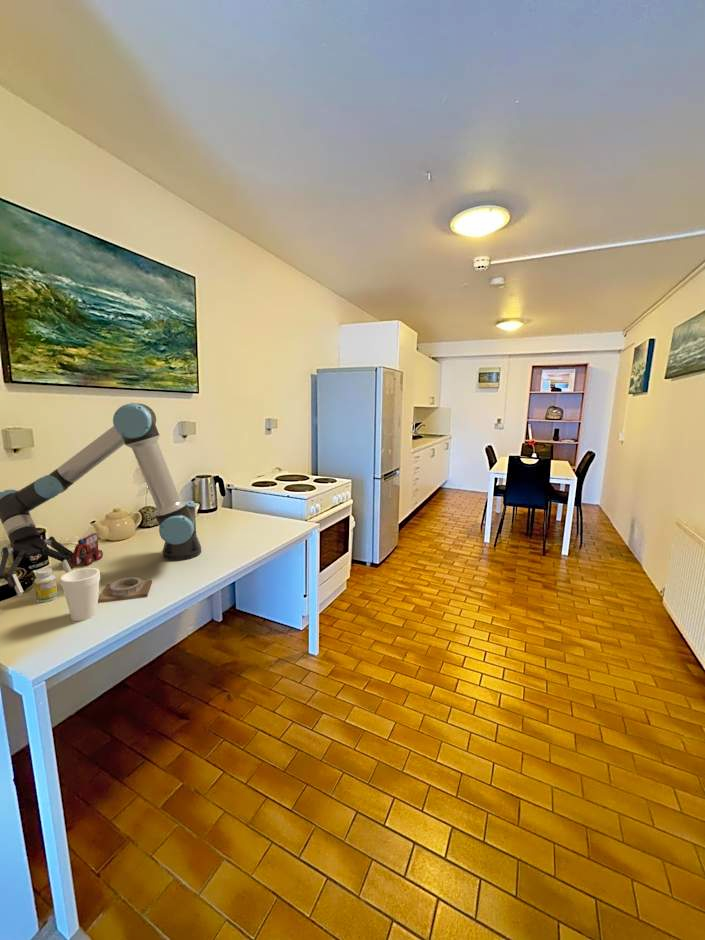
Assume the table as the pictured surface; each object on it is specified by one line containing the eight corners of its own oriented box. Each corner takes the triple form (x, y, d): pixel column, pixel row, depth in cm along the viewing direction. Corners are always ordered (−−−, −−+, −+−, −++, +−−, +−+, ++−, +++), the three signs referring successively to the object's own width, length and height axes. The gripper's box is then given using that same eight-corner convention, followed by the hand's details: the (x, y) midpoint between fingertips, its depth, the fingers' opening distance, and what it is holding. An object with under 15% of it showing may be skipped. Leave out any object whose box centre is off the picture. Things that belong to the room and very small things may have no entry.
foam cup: (109, 607, 120) (106, 568, 118) (90, 623, 111) (86, 581, 109) (78, 607, 119) (74, 567, 117) (56, 623, 110) (52, 581, 108)
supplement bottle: (57, 599, 123) (54, 571, 122) (35, 604, 120) (32, 575, 119) (57, 593, 128) (55, 565, 126) (37, 597, 125) (34, 569, 123)
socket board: (152, 582, 137) (151, 574, 137) (147, 596, 127) (146, 588, 127) (107, 587, 133) (106, 579, 132) (98, 602, 122) (97, 593, 122)
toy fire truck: (66, 568, 147) (63, 542, 145) (90, 555, 159) (88, 531, 158) (83, 569, 147) (80, 543, 145) (106, 556, 159) (104, 532, 157)
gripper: (62, 528, 140) (87, 577, 135) (-31, 549, 119) (-6, 607, 113) (68, 516, 136) (93, 566, 131) (-27, 535, 115) (-1, 596, 110)
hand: (47, 585), depth 122 cm, fingers open, 13 cm apart
